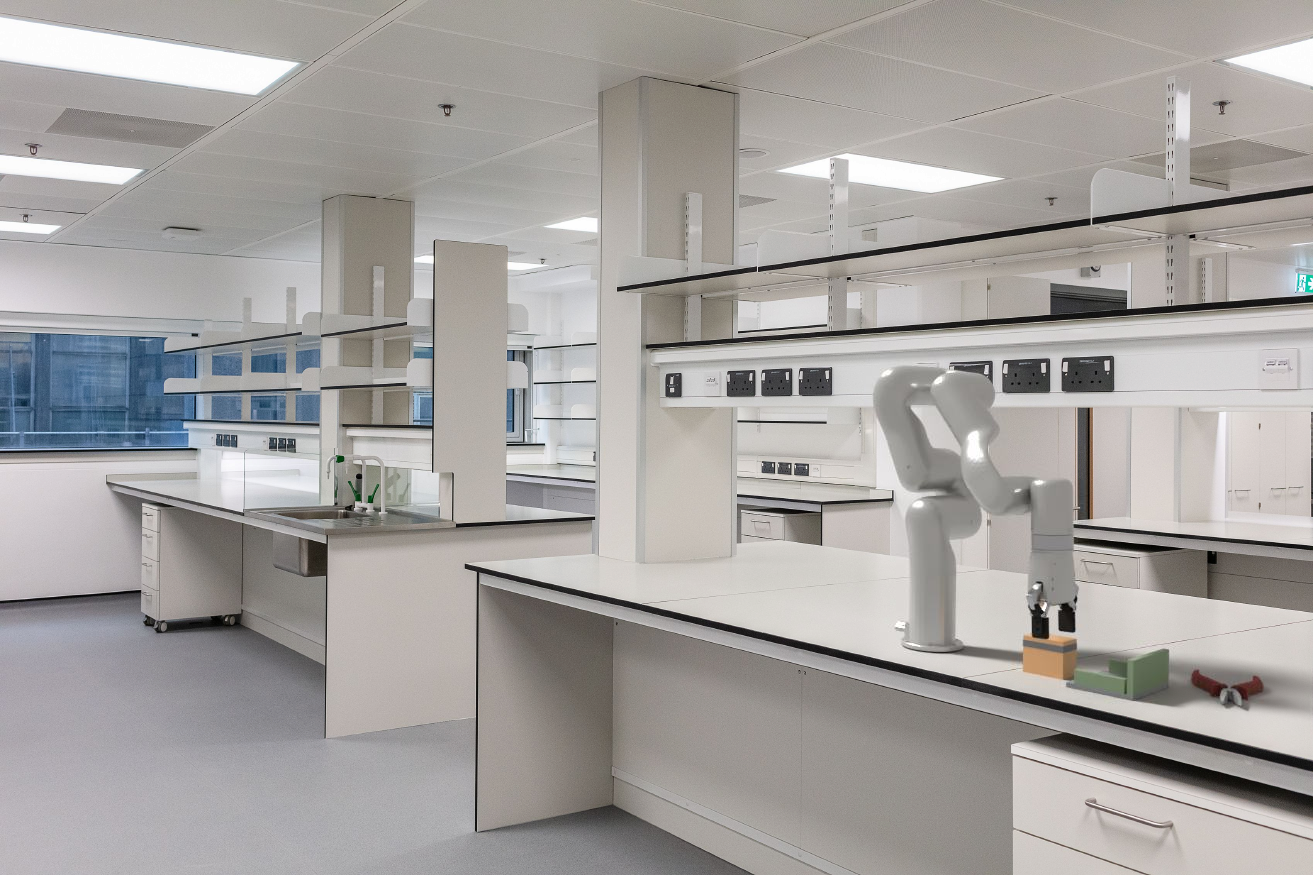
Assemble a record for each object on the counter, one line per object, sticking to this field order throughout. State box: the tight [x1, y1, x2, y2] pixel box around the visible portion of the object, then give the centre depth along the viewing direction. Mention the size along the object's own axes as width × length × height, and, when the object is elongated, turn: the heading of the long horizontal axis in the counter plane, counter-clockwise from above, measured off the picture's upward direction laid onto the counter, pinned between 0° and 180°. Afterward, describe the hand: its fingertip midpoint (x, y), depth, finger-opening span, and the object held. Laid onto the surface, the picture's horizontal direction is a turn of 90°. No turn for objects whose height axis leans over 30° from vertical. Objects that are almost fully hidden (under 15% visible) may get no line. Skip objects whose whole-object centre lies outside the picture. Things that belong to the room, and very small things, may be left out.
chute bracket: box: [1065, 648, 1170, 701], centre depth 189 cm, size 12×14×7 cm
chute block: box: [1022, 632, 1078, 681], centre depth 199 cm, size 8×5×7 cm, turn 41°
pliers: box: [1190, 669, 1264, 707], centre depth 184 cm, size 12×20×3 cm, turn 154°
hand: (1053, 634), depth 198 cm, fingers open, 9 cm apart
